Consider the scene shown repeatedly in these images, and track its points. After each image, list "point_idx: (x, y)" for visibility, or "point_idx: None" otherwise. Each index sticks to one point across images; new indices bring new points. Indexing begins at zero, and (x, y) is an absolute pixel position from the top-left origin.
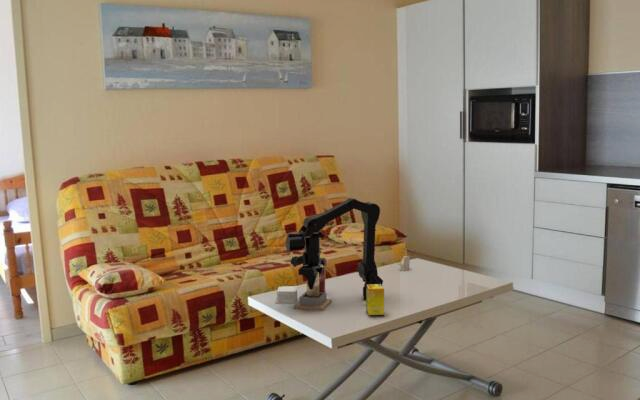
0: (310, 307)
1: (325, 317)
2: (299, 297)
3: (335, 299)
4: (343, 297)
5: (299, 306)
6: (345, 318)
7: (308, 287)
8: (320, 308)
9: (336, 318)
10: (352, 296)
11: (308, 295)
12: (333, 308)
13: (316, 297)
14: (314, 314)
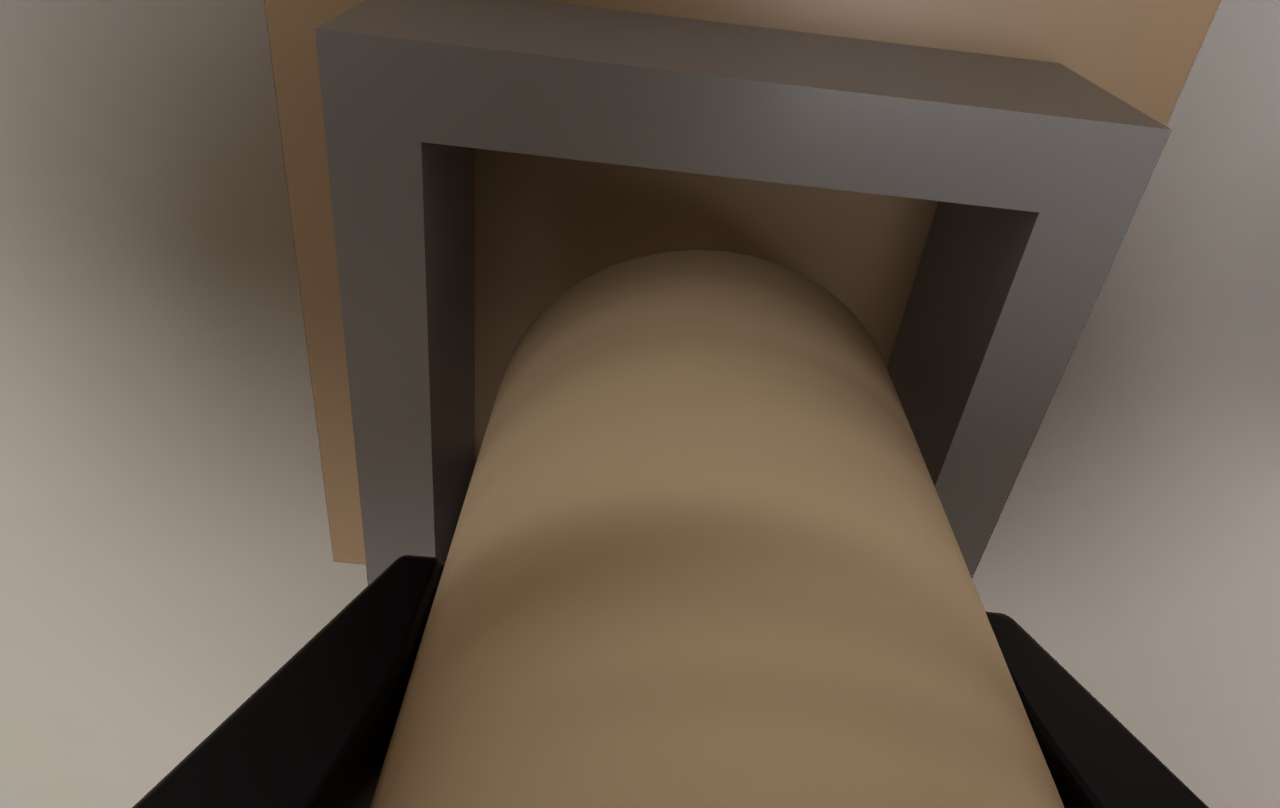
0: (311, 313)
1: (33, 583)
2: (320, 34)
3: (1099, 612)
4: (1206, 701)
5: (270, 14)
6: (141, 785)
7: (465, 537)
8: (336, 502)
9: (78, 706)
10: (1234, 792)
11: (526, 341)
12: None
13: (905, 400)
14: (85, 406)
